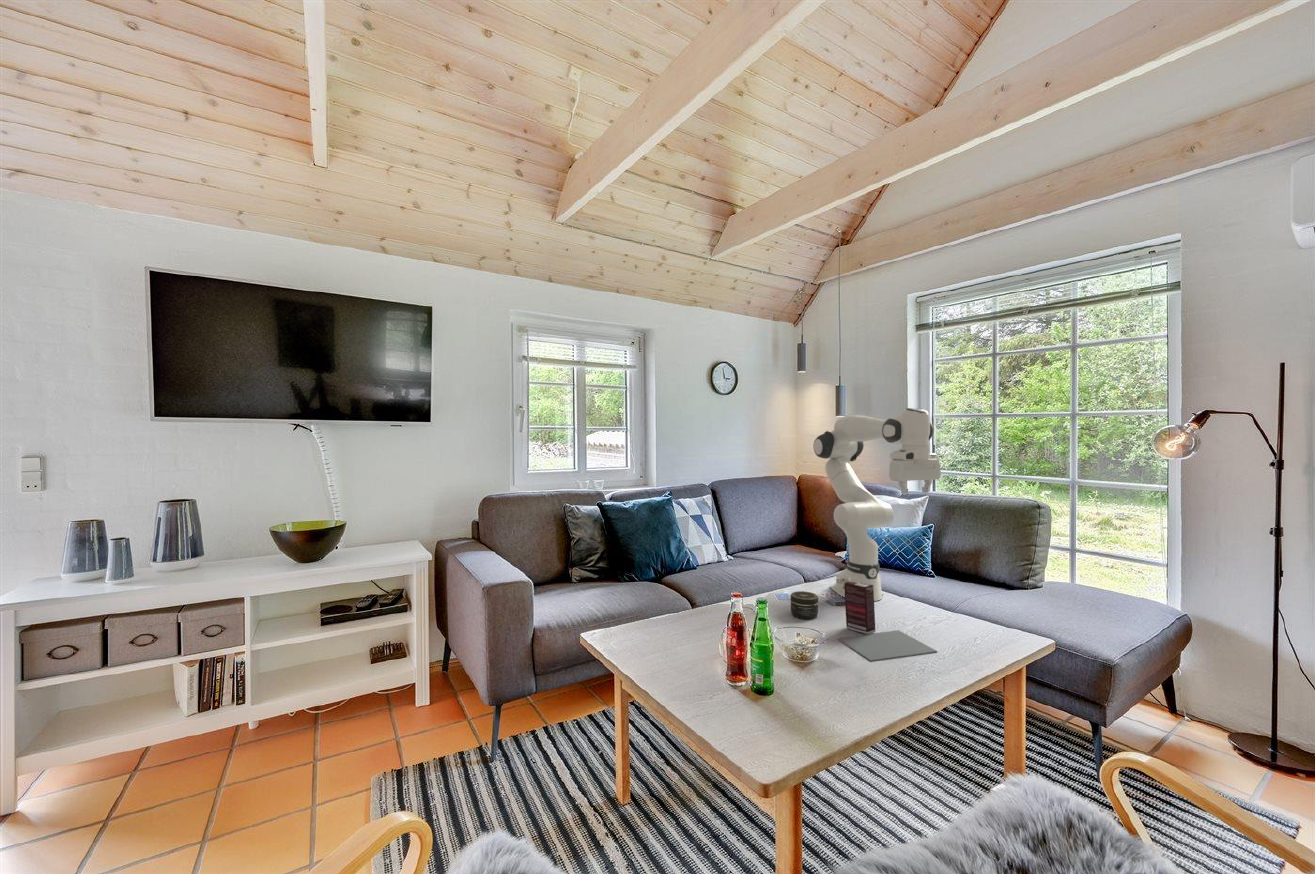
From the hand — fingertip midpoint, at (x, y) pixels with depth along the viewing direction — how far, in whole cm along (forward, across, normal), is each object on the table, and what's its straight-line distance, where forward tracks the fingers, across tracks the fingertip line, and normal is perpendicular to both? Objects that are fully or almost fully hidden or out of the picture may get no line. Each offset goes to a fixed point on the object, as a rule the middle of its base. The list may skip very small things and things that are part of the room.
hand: (915, 492), depth 185 cm
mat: (+46, +24, +12) cm, 53 cm away
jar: (+47, +32, -19) cm, 60 cm away
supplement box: (+46, +22, -1) cm, 52 cm away
